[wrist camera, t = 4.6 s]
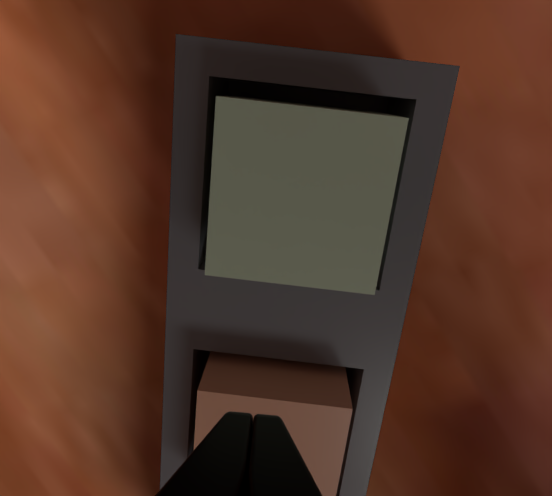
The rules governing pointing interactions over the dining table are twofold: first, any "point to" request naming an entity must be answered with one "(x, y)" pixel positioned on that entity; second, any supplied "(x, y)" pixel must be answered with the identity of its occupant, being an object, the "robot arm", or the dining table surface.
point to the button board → (279, 297)
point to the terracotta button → (282, 405)
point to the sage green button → (301, 193)
